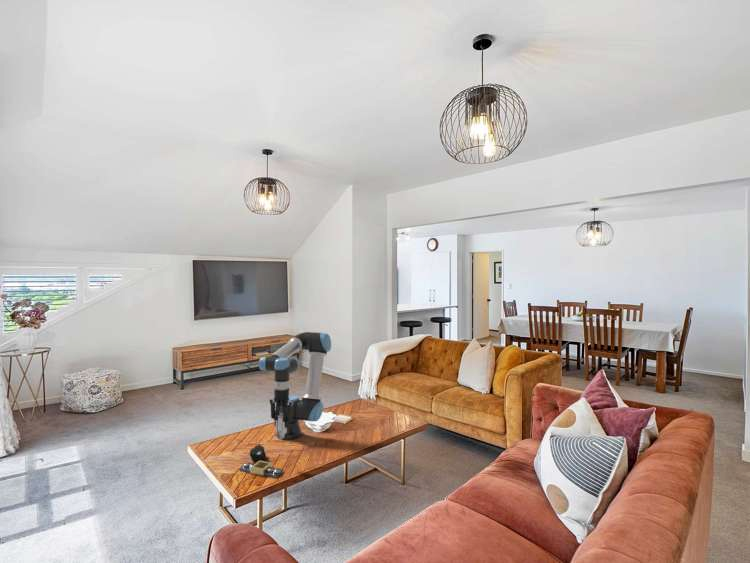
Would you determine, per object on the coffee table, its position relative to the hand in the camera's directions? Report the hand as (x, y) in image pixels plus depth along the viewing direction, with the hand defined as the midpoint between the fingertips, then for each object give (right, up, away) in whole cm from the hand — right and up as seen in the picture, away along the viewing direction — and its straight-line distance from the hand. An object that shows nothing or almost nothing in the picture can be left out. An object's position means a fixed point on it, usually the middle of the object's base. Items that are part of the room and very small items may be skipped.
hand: (281, 432), depth 204 cm
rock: (-14, -17, +6) cm, 23 cm away
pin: (0, -2, 0) cm, 2 cm away
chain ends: (-8, -16, -8) cm, 20 cm away
